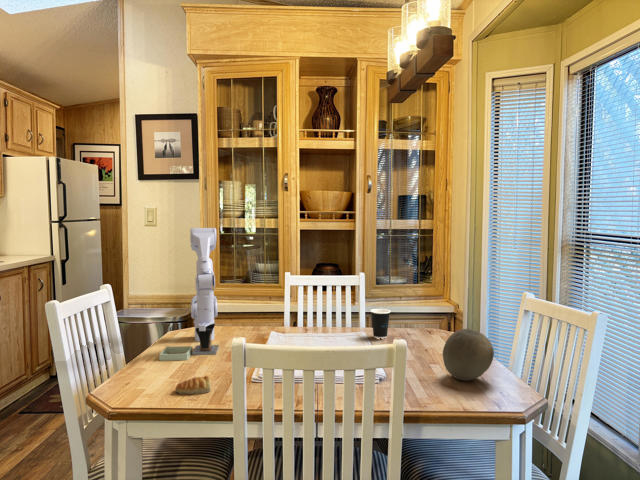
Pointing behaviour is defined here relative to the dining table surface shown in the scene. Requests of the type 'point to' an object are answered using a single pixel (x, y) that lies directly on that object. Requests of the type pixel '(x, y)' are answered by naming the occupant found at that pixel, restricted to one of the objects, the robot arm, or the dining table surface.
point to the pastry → (194, 386)
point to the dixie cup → (380, 322)
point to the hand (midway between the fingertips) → (205, 346)
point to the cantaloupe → (467, 354)
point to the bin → (182, 349)
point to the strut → (208, 346)
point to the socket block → (205, 352)
